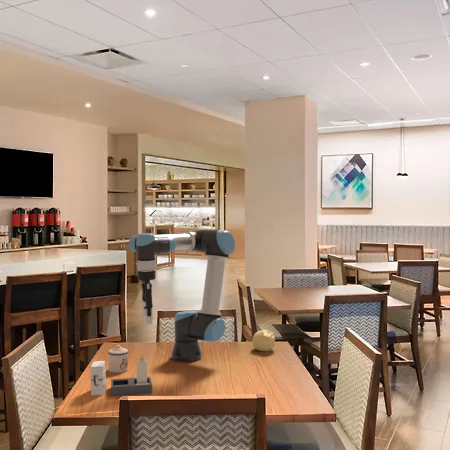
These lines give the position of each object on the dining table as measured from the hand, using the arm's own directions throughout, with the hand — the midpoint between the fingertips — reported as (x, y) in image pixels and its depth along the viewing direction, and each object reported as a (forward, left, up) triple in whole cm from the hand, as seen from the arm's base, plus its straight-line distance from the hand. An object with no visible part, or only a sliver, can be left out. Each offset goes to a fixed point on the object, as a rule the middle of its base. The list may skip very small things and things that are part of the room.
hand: (147, 320), depth 223 cm
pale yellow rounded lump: (-64, -42, -28) cm, 81 cm away
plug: (+3, +8, -27) cm, 28 cm away
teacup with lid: (+11, -23, -28) cm, 38 cm away
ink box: (+20, +7, -28) cm, 35 cm away
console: (+7, +8, -27) cm, 29 cm away
